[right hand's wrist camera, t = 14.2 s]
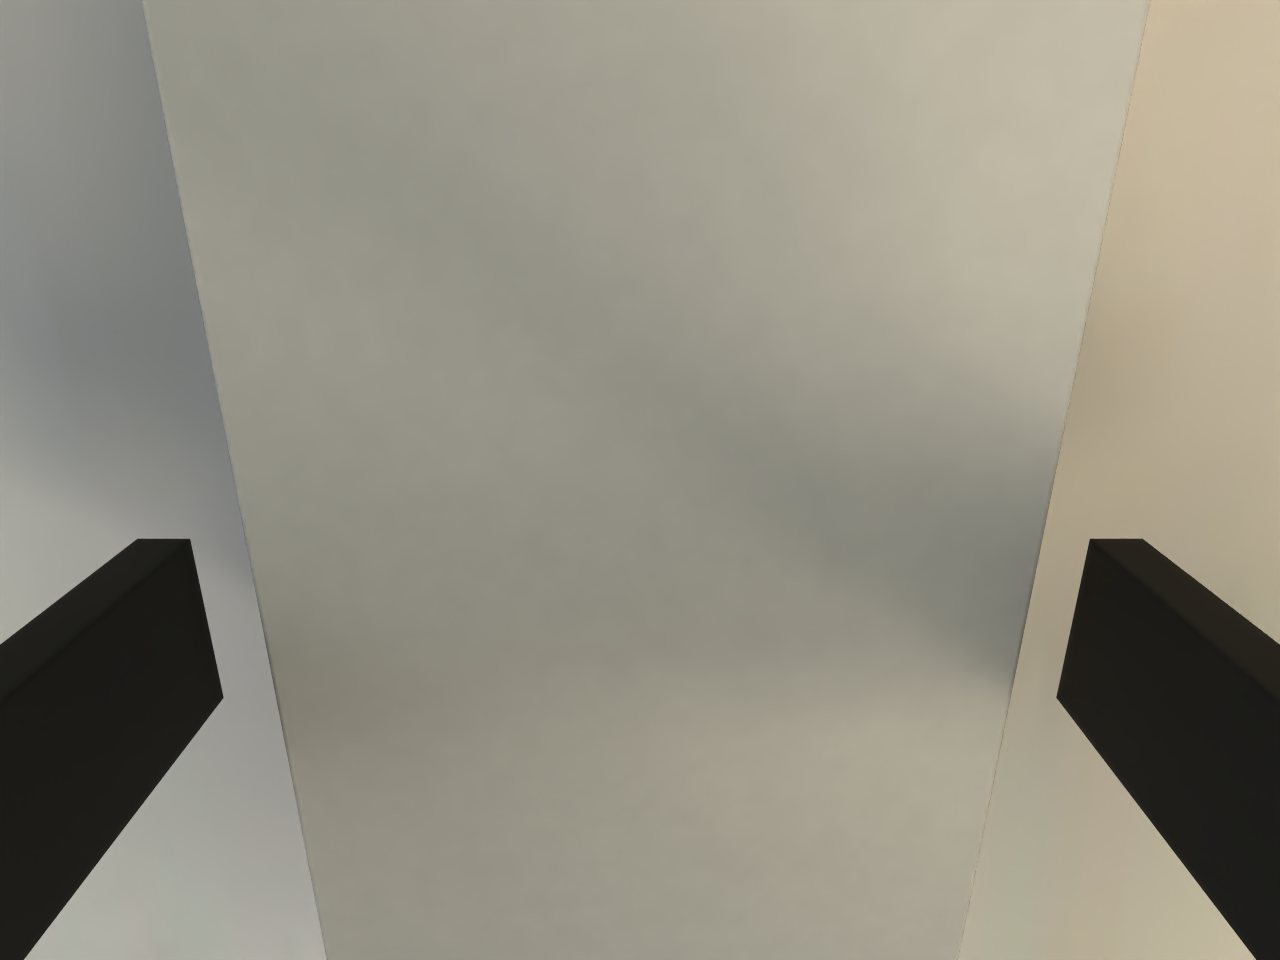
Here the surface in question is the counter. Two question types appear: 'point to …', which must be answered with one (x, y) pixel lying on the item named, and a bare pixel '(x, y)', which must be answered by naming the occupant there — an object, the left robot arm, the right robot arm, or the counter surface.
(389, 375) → the thick board
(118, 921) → the counter surface
